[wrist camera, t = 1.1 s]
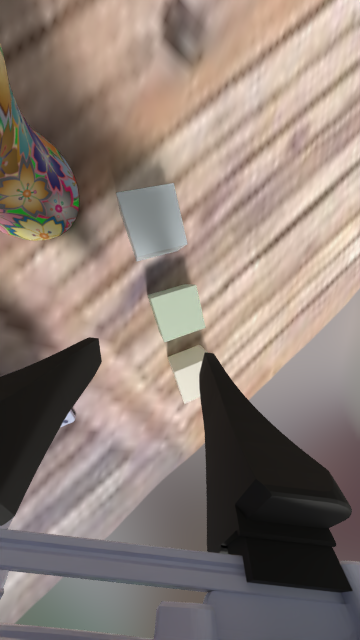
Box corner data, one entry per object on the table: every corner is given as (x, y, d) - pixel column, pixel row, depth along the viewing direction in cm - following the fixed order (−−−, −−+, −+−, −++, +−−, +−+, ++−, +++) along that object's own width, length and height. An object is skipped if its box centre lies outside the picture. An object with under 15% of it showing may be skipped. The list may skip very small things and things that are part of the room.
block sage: (159, 331, 21) (164, 342, 17) (147, 294, 19) (150, 298, 15) (193, 319, 22) (205, 327, 18) (184, 284, 20) (196, 284, 16)
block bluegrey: (136, 261, 18) (137, 256, 14) (120, 212, 16) (116, 192, 13) (176, 251, 19) (187, 244, 15) (165, 203, 17) (173, 183, 14)
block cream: (176, 384, 23) (184, 404, 20) (167, 356, 22) (174, 372, 18) (206, 371, 24) (218, 388, 21) (199, 344, 23) (211, 356, 19)
